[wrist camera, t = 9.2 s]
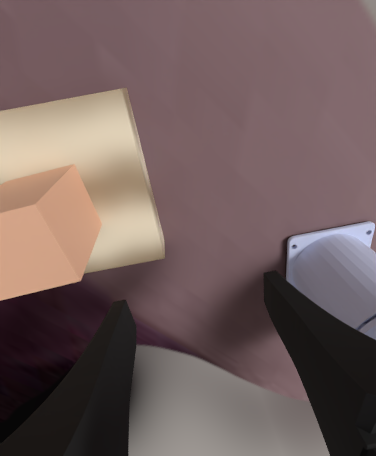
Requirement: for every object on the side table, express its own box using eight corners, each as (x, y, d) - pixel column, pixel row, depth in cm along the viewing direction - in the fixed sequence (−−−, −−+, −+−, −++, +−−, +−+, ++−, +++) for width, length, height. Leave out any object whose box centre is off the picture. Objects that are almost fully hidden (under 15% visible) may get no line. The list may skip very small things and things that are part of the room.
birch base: (164, 238, 23) (164, 258, 20) (32, 263, 23) (16, 286, 20) (127, 87, 17) (121, 88, 14) (-53, 120, 17) (-91, 128, 14)
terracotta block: (102, 224, 18) (80, 280, 13) (42, 239, 18) (-3, 301, 13) (74, 163, 16) (35, 204, 11) (6, 181, 16) (-65, 229, 11)
